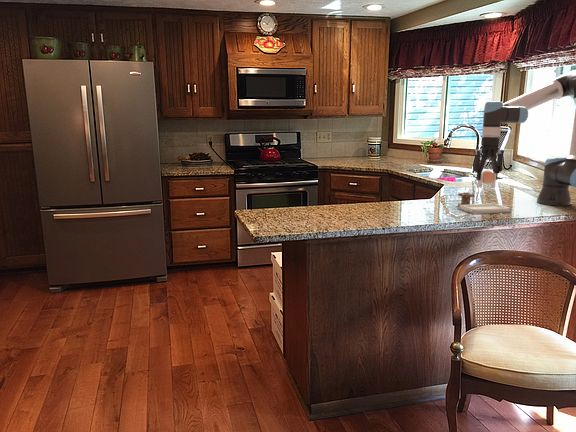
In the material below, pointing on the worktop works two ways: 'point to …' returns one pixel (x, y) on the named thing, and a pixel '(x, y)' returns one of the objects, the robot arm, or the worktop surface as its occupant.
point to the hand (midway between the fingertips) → (486, 187)
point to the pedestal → (465, 198)
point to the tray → (484, 208)
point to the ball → (487, 177)
